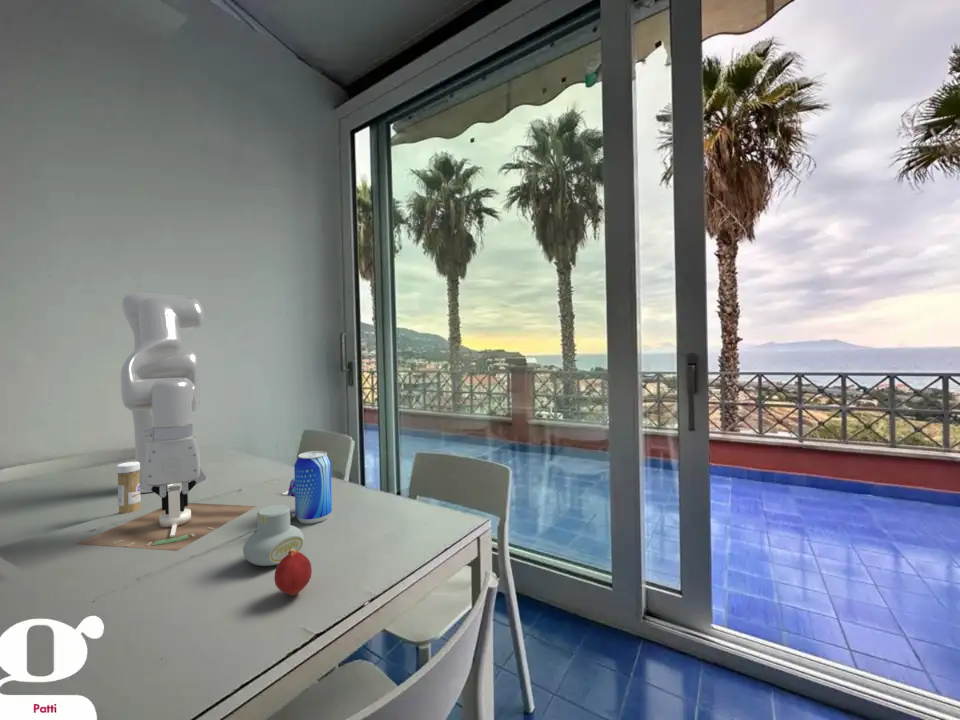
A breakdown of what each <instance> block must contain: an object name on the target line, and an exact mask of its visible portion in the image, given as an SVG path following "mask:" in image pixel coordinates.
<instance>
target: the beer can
mask: <svg viewBox="0 0 960 720" xmlns="http://www.w3.org/2000/svg"><path fill="white" fill-rule="evenodd" d="M297 456H298V457H297V460H296V461H295V463H294V466H293V467H294V478H295V497H294V504H295V505H294V506H295V507H294V509H295V513H294V514H295V518H296V519H297V520H298V521H299V522H300V523H301V524H306V525H307V524H310V525H311V524H317V523H321V522H323V521H324V522H325V521H326V520H327V519H328V518H329V516H330V514H331V513H332V512H333V511H332V510H333V508H332V507H333V504H332V501H333V499H332V498H333V497H332V461H331V459H330V457H329V456H328V453H327V452H326V451H322V450H313V451H311V450H310V451H306V452H301V453H300V454H298V455H297Z"/></svg>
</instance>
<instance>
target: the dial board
mask: <svg viewBox="0 0 960 720" xmlns="http://www.w3.org/2000/svg"><path fill="white" fill-rule="evenodd" d="M185 508H186V509H190V510H191V520H190V521H189V522H187V523H185V524H182V525H178V526H177V528H176V533H175V536H174V537H170V534H171V529H172V527H161V526H160V521H159V516H160V515H161V514H163V513H165V510H162V507H160V508H157V509H156V510H155V509H154V510H153V511H151V512H148V513H146V514H144V515H141V516H139V517H136V518H134V519H132V520H129V521H127V522H125V523H122V524H120V525H118V526H115V527H113V528H110V529H107V530H105V531H104V532H101V533H99V534H96V535H93V536H91V537H89V538H86V539H84V540H82V541H80V542H76V545H80V546H81V545H84V546H98V547H99V546H100V547H113V548H114V547H115V548H128V549H129V548H131V549H133V548H134V549H146V550H148V549H149V550H161V551H179V550H181V549H183V548H184V547H187V546H188V545H191V544H192V543H194V542H195V541H197V540H199V539H202V537H205V536H206V535H208V534H210V533H212V532H214V531H215V530H217V529H220V528H221V527H223V526H224V525H226V524H228V523H230V522H232V521H233V520H235V519H237V518H239V517H240V516H243V515H244V514H247V512H249V511H251V510H253V509H255V508H257V505H242V504H241V505H238V504H222V503H221V504H219V503H218V504H216V503H196V502H195V503H194V502H188V506H185Z"/></svg>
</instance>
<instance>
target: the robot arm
mask: <svg viewBox="0 0 960 720" xmlns="http://www.w3.org/2000/svg"><path fill="white" fill-rule="evenodd" d="M121 301H122V304H121V305H122V310H123V314H124V317H125V319H126V321H127V322H128V325H129V326H130V329H131V330H132V333H133V339H134V342H133V343H134V351H132V352H131V353H130V354H129V356H128V357H127V358H126V359H125V361H124V363H122V364H123V365H122V367H121V370H120V387H121V388H120V390H121V391H120V392H121V400H122V401H121V402H122V404H123V405H124V407H125V408H126V409H128V410H129V411H131V413H132V420H133V426H134V427H133V428H134V430H133V431H134V451H135V462H139V463H140V471H139V478H140V494H145V493H146V494H147V493H154V494H156V495H157V496H159V498H161V508H162V510H165V514H169V501H168V492H169V489H170V485H176V484H181V493H180V511H181V512H183V511H184V509H185V506H188V503H189V496H188V495H189V492H190V491H191V490H192V489H193V488H194V487H195V486H196V485H198V484H199V483H202V482H204V481H205V480H206V479H207V475H206V474H205V472H204V471H203V469H202V467H201V457H200V456H201V455H200V448H199V443H198V439H197V436H196V435H194V432H193V431H194V430H193V412H195V411H197V410H198V409H199V407H200V401H201V390H200V389H201V388H200V385H201V382H200V381H201V379H200V377H201V376H200V361H199V357H198V354H197V353H196V352H195V351H193V350H192V349H191V350H190V349H182V348H183V340H182V336H181V335H182V334H181V329H191V330H193V329H200V328H202V326H203V324H204V321H205V314H204V313H205V312H204V307H203V306H202V304H201V302H200V301H199V299H197V298H195V297H194V296H191V295H182V294H167V293H153V292H131V293H128V294H126V295H124V296H123V298H122V300H121ZM136 376H137V377H138V378H136Z"/></svg>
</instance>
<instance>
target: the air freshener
mask: <svg viewBox="0 0 960 720" xmlns="http://www.w3.org/2000/svg"><path fill="white" fill-rule="evenodd" d="M256 516H257V517H256V523H257V524H256V525H257V527H256V529H257V530H256V531H255V532H253V533H252V534H251V535H250V536H249V537H248V538H247V540H246V541H245V543H244V545H243V547H242V549H243V550H242V554H243V557H244V558H245V560H247V561H248V562H249V563H251V564H253V565H255V566H258V567H259V566H262V567H270V566H278V564H279V563H280V561H281V560H282V559H283V558H284V557H285V556H286V555H288V554H289V553H288V552H289V551H290V550H291V549H295V550H296V551H297V552H299V553H300V551H301V550H302V548H303V546H304V543H305V536H304V534H303V532H302V531H301V529H300V528H298V527H297V526H295V525H291V509H290V507H289V506H288V505H287V504H275V505H269V506H268V505H267V506H265V507H263V508H261V509H260V510H258V512H257V514H256Z"/></svg>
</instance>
